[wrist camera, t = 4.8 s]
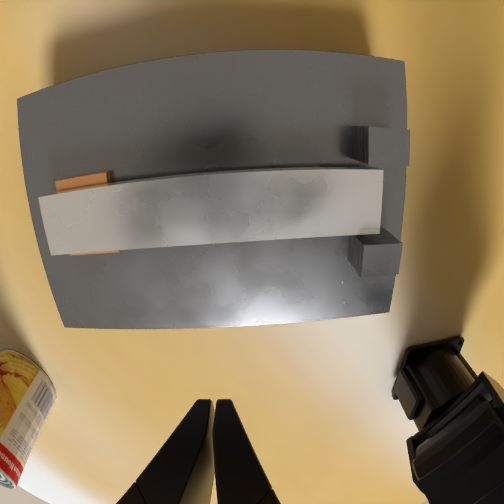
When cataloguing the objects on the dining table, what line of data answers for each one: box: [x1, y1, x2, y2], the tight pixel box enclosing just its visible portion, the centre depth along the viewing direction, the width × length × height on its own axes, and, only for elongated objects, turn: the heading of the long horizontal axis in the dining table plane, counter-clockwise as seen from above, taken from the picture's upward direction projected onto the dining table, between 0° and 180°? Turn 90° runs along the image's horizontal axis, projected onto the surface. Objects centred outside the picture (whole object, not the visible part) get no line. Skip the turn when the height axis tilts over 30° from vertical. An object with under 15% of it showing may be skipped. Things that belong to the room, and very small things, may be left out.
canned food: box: [0, 350, 56, 489], centre depth 19 cm, size 8×8×12 cm
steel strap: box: [38, 167, 383, 255], centre depth 14 cm, size 16×3×1 cm, turn 92°
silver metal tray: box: [17, 50, 410, 329], centre depth 15 cm, size 20×14×6 cm
